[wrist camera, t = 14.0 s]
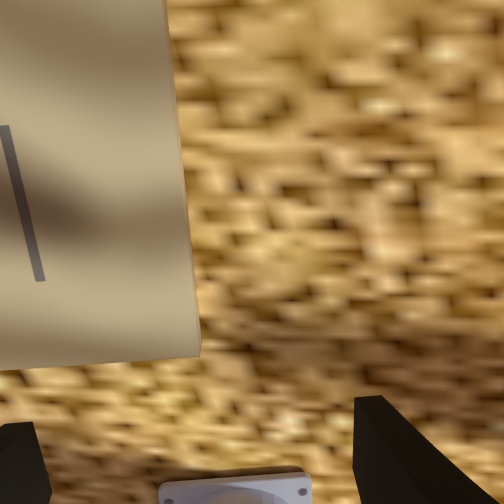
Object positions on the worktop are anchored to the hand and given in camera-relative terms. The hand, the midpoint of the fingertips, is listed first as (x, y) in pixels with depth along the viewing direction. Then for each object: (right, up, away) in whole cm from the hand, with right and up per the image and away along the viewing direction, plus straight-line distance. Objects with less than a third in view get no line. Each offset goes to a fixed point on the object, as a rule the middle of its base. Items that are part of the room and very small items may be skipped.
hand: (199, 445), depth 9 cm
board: (-11, +6, +7) cm, 14 cm away
